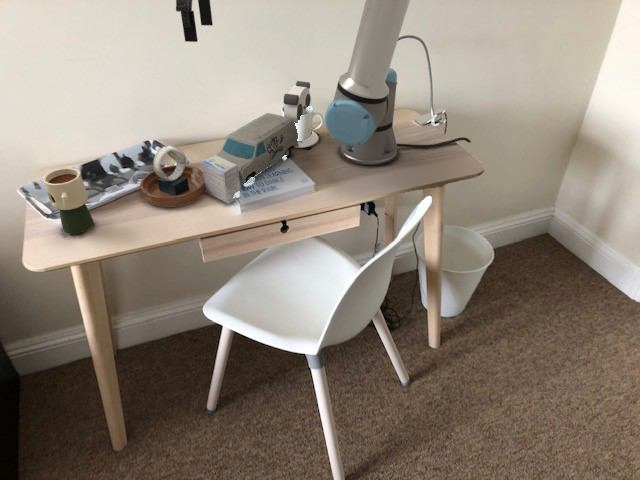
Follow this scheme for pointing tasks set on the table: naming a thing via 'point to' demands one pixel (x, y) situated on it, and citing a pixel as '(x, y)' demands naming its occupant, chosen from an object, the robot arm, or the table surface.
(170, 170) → the bowl
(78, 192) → the character mug
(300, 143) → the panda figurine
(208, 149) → the table surface
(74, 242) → the table surface
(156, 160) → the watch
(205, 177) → the medicine box
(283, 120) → the toy car
